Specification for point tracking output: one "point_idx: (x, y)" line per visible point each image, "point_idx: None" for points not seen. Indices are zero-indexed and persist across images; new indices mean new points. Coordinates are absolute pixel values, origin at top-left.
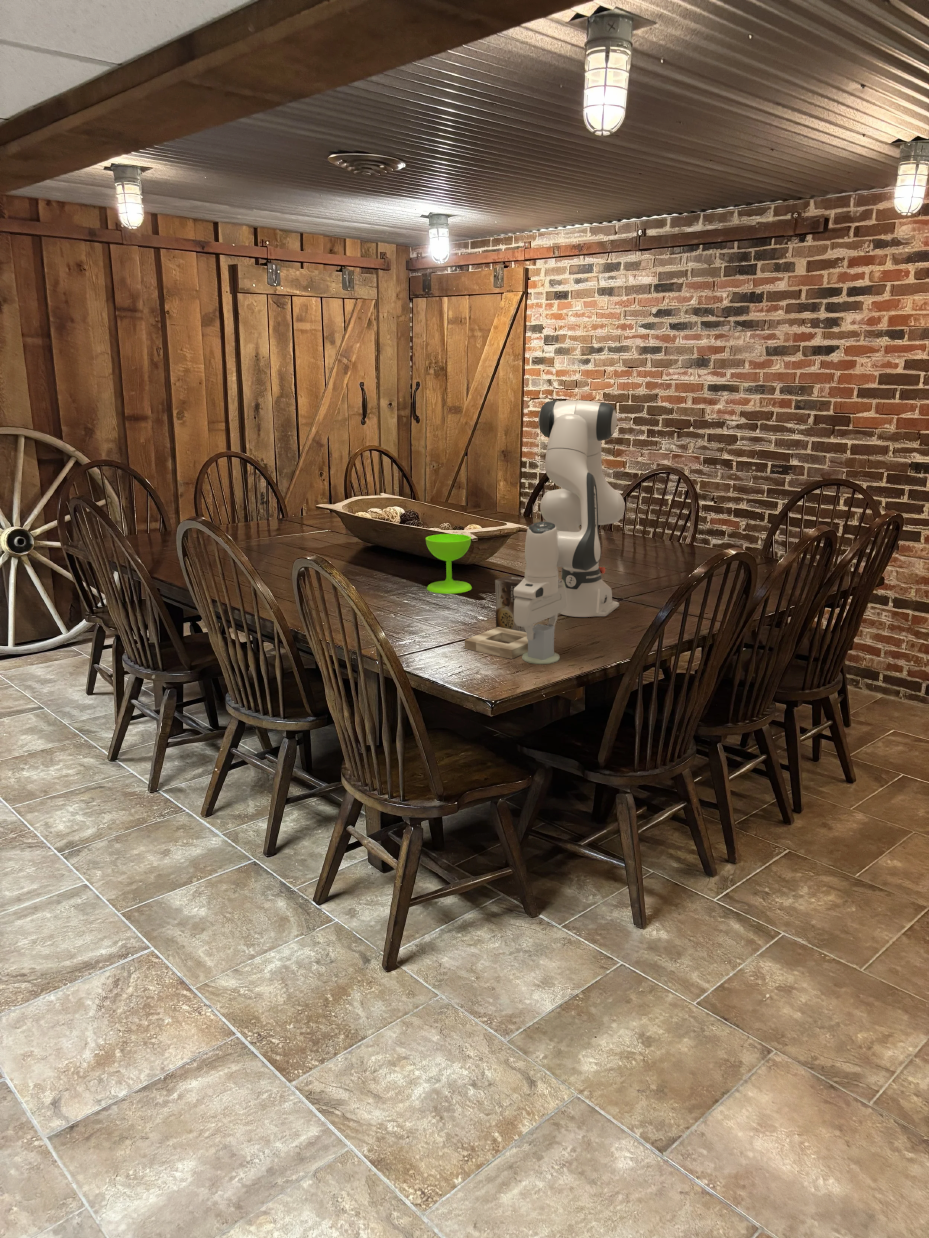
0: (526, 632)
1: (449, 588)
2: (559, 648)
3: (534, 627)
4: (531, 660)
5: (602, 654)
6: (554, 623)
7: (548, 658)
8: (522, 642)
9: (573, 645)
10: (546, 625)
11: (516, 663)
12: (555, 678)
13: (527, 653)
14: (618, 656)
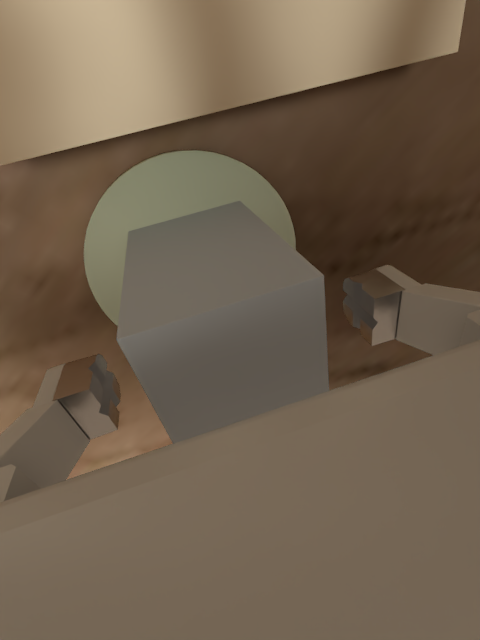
0: (21, 419)
1: None
2: (388, 193)
3: (192, 355)
4: (105, 295)
5: (402, 354)
6: (412, 343)
7: None
8: (215, 47)
9: (461, 202)
10: (324, 357)
11: (12, 250)
12: (82, 467)
13: (168, 174)
14: None
